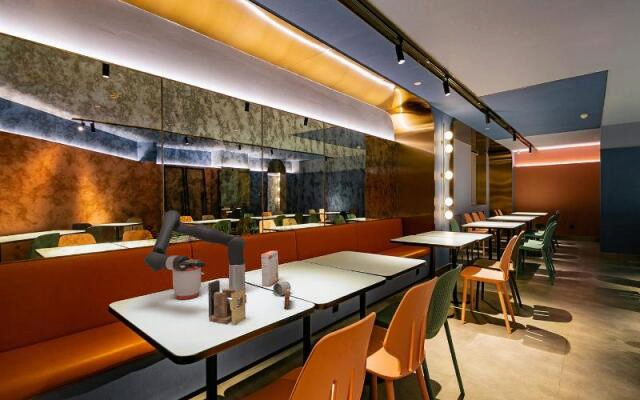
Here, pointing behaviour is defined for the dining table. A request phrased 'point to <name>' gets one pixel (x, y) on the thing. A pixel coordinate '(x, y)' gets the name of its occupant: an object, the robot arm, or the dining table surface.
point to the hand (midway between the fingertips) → (204, 264)
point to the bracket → (222, 307)
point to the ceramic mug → (280, 288)
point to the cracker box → (269, 268)
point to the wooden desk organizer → (212, 289)
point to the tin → (287, 297)
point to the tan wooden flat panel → (239, 310)
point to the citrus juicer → (187, 283)
